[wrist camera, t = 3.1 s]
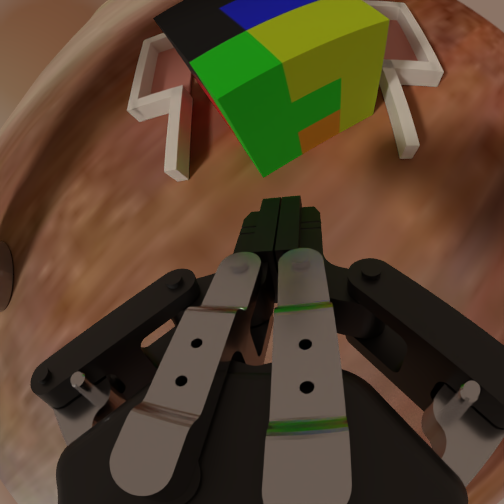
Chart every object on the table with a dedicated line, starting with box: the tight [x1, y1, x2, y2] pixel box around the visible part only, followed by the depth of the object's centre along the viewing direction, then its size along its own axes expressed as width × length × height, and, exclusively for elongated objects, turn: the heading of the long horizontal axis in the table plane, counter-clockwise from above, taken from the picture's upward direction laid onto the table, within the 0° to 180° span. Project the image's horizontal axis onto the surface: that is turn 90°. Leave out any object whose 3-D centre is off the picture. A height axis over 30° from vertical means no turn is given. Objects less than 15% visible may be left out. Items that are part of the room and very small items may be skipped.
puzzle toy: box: [153, 0, 390, 178], centre depth 17 cm, size 10×10×10 cm
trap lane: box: [127, 0, 444, 181], centre depth 21 cm, size 25×27×2 cm
